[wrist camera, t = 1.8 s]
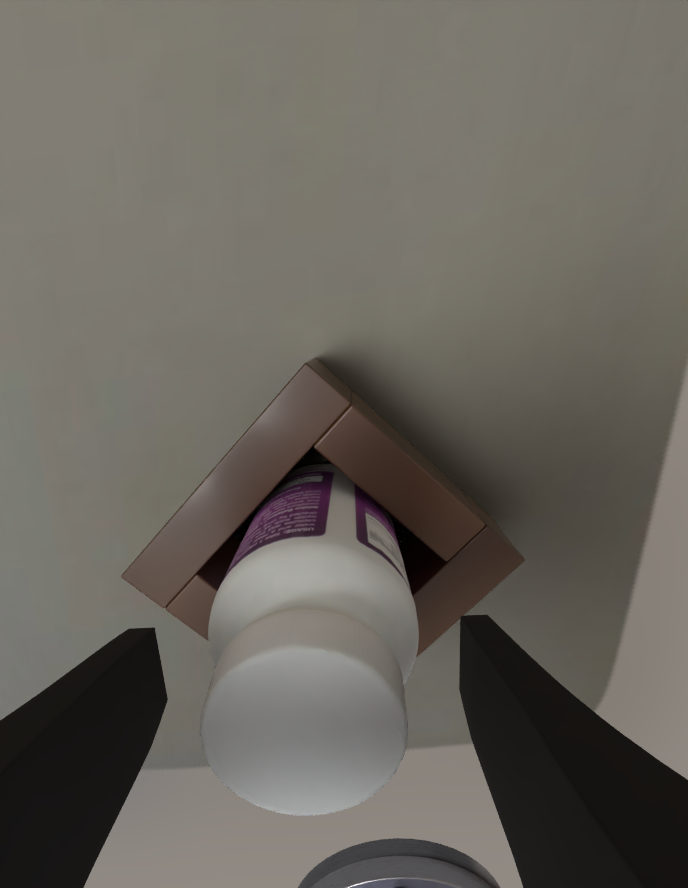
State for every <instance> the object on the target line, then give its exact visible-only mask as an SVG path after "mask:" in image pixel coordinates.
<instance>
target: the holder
mask: <svg viewBox="0 0 688 888" xmlns="http://www.w3.org/2000/svg"><path fill="white" fill-rule="evenodd" d="M313 445H314V448H315V449H316V450H317V451H318V452H319V453H320V454H321V455H323V456H324V457H325V458H326V459H327V460H328V461H330V462H331V463H332V464H333V465H334V466H335V467H337V468H338V469H339V470H340V471H341V472H342V473H343V474H345V475H346V476H347V477H348V478H349V479H350V480H352V481H353V482H354V483H355V484H356V485H357V486H359V487H360V488H361V489H362V490H363V491H364V492H365V493H367V494H368V495H369V496H370V497H371V498H372V499H374V500H375V501H376V502H377V503H378V504H379V505H381V506H382V507H383V508H384V509H385V510H386V511H388V512H389V513H390V514H391V515H392V516H393V517H394V518H396V519H397V520H398V521H399V522H400V523H401V524H403V525H404V526H405V527H406V528H407V529H408V530H410V531H411V532H412V533H413V535H412V536H411V537H410V538H409V539H408V540H407V541H406V542H405V543H404V544H403V545H402V546H401V547H400V552H401V556H402V559H403V562H404V567H405V571H406V575H407V579H408V582H409V586H410V590H411V594H412V596H413V599H414V603H415V606H416V613H417V620H418V628H419V640H418V650H417V655H416V657H418V656H419V655H420V654H421V653H422V652H423V651H424V650H425V649H427V648H428V647H429V646H430V645H431V644H432V643H433V642H434V641H435V640H437V639H438V638H439V637H440V636H441V635H442V634H443V633H444V632H445V631H447V630H448V629H449V628H450V627H451V626H452V625H453V624H454V623H456V622H457V621H458V620H459V619H460V618H461V616H463V615H464V614H466V613H467V612H468V611H469V610H470V609H471V608H472V607H473V606H475V605H476V604H477V603H478V602H479V601H480V600H481V599H482V598H483V597H485V596H486V595H487V594H488V593H489V592H490V591H491V590H492V589H493V588H495V587H496V586H497V585H498V584H499V583H500V582H501V581H502V580H504V579H505V578H506V577H507V576H508V575H509V574H510V573H511V572H512V571H514V570H515V569H516V568H517V567H518V566H519V565H520V564H521V563H522V562H524V560H525V559H524V558H523V556H522V555H521V554H520V553H519V551H518V550H517V549H516V548H515V546H514V545H513V544H512V543H511V541H510V540H509V539H508V538H507V536H506V535H505V534H504V533H503V531H502V530H501V529H500V528H499V526H498V525H497V524H496V523H495V521H494V520H493V519H492V517H491V516H490V515H489V514H487V513H486V512H485V511H484V510H483V509H482V508H481V507H480V506H479V505H478V504H476V503H475V502H474V501H473V500H472V499H471V498H470V497H469V496H468V495H466V494H465V493H464V492H463V491H462V490H461V489H459V487H458V486H456V485H455V484H454V483H453V482H452V481H451V480H450V479H449V478H448V477H447V476H445V475H444V474H443V473H442V472H441V471H440V470H439V469H438V468H437V467H435V466H434V465H433V464H432V463H431V462H430V461H429V460H428V459H427V458H426V457H424V456H423V455H422V454H421V453H420V452H419V451H418V450H417V449H416V448H415V447H413V446H412V445H411V444H410V443H409V442H408V441H407V440H406V439H405V438H403V437H402V436H401V435H400V434H399V433H398V432H397V431H396V430H395V429H394V428H392V427H391V426H390V425H389V424H388V423H387V422H386V421H385V420H384V419H383V418H381V417H380V416H379V415H378V414H377V413H376V412H375V411H374V410H373V409H372V408H370V407H369V406H368V405H367V404H366V403H365V402H364V401H363V400H362V399H360V398H359V397H358V396H357V395H356V394H355V393H354V392H352V391H351V390H350V388H348V387H347V386H346V385H345V384H344V383H343V382H342V381H341V380H340V379H339V378H337V377H336V376H335V375H334V374H333V373H332V372H331V371H330V370H329V369H327V368H326V367H325V366H324V365H323V364H322V363H321V362H320V361H319V360H318V359H316V358H314V359H312V360H310V361H308V362H307V363H305V364H304V365H303V366H302V367H301V368H300V370H299V371H298V372H297V373H296V374H295V375H294V377H293V378H292V379H291V380H290V381H289V382H288V384H287V385H286V386H285V387H284V388H283V389H282V390H281V392H280V393H279V394H278V395H277V396H276V397H275V399H274V400H273V401H272V402H271V403H270V404H269V405H268V407H267V408H266V409H265V410H264V411H263V412H262V414H261V415H260V416H259V417H258V418H257V419H256V421H255V422H254V423H253V424H252V425H251V426H250V427H249V429H248V430H247V431H246V432H245V433H244V434H243V436H242V437H241V438H240V439H239V440H238V441H237V442H236V444H235V445H234V446H233V447H232V448H231V449H230V451H229V452H228V453H227V454H226V455H225V456H224V457H223V459H222V460H221V461H220V462H219V463H218V464H217V466H216V467H215V468H214V469H213V470H212V471H211V473H210V474H209V475H208V476H207V477H206V478H205V479H204V481H203V482H202V483H201V484H200V485H199V486H198V488H197V489H196V490H195V491H194V492H193V493H192V494H191V496H190V497H189V498H188V499H187V500H186V501H185V503H184V504H183V505H182V506H181V507H180V508H179V510H178V511H177V512H176V513H175V514H174V515H173V516H172V518H171V519H170V520H169V521H168V522H167V523H166V525H165V526H164V527H163V528H162V529H161V530H160V531H159V533H158V534H157V535H156V536H155V537H154V538H153V540H152V541H151V542H150V543H149V544H148V545H147V547H146V548H145V549H144V550H143V551H142V552H141V553H140V555H139V556H138V557H137V558H136V559H135V560H134V562H133V563H132V564H131V565H130V566H129V567H128V568H127V570H126V571H125V572H124V573H123V574H122V576H121V577H122V578H123V579H124V580H126V581H127V582H128V583H130V584H131V585H132V586H134V587H135V588H136V589H138V590H139V591H141V592H142V593H143V594H145V595H146V596H147V597H149V598H150V599H151V600H153V601H154V602H155V603H157V604H158V605H160V606H161V607H162V608H165V607H166V610H167V611H168V612H170V613H171V614H172V615H174V616H175V617H176V618H178V619H179V620H180V621H182V622H183V623H185V624H186V625H187V626H189V627H190V628H191V629H193V630H194V631H195V632H197V633H198V634H200V635H201V636H202V637H204V638H205V639H206V640H208V626H209V618H210V613H211V609H212V605H213V602H214V599H215V596H216V594H217V591H218V589H219V587H220V585H221V583H222V581H223V579H224V577H225V575H226V573H227V571H228V569H229V566H230V564H231V562H232V561H233V558H234V556H235V554H236V552H237V550H238V548H239V546H240V544H241V541H240V540H239V539H237V538H236V537H235V536H234V535H232V534H233V533H234V532H235V531H236V530H237V529H238V528H239V526H240V525H241V524H242V523H243V522H244V521H245V520H246V519H247V518H248V517H249V515H250V514H251V513H252V512H253V511H254V510H255V509H256V508H257V507H258V506H259V505H260V503H261V502H262V501H263V500H264V499H265V498H266V497H267V496H268V495H269V494H270V492H271V491H272V490H273V489H274V488H275V487H276V486H277V485H278V484H279V483H280V482H281V480H282V479H283V478H284V477H285V476H286V475H287V474H288V473H289V472H290V471H291V469H292V468H293V467H294V466H295V465H296V464H297V463H298V462H299V461H300V460H301V459H302V457H303V456H304V455H305V454H306V453H307V452H308V451H309V450H310V449H311V448H312V446H313Z"/></svg>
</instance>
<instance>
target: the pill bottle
mask: <svg viewBox="0 0 688 888" xmlns="http://www.w3.org/2000/svg"><path fill="white" fill-rule="evenodd" d="M418 640H419V628H418V620H417V613H416V606H415V603H414V599H413V596H412V594H411V590H410V586H409V582H408V579H407V575H406V571H405V567H404V562H403V559H402V556H401V552H400V548H399V545H398V541H397V537H396V533H395V529H394V525H393V521H392V517H391V514H390V513H389V512H388V511H386V510H385V509H384V508H383V507H382V506H381V505H379V504H378V503H377V502H376V501H375V500H374V499H372V498H371V497H370V496H369V495H368V494H367V493H365V492H364V491H363V490H362V489H361V488H360V487H359V486H357V485H356V484H355V483H354V482H353V481H352V480H350V479H349V478H348V477H347V476H346V475H345V474H343V473H342V472H341V471H340V470H339V469H338V468H337V467H335V466H334V465H333V464H314V465H308V466H303V467H301V468H298V469H296V470H294V471H292V472H290V473H288V474H287V475H286V476H285V477H284V478H283V479H282V480H281V482H280V483H279V484H278V485H277V486H276V487H275V488H274V489H273V490H272V491H271V492H270V494H269V495H268V496H267V497H266V498H265V499H264V500H263V501H262V503H261V505H260V507H259V509H258V511H257V512H256V514H255V516H254V519H253V520H252V522H251V524H250V526H249V528H248V530H247V532H246V534H245V536H244V538H243V540H242V542H241V544H240V546H239V548H238V550H237V552H236V554H235V556H234V558H233V561H232V562H231V564H230V566H229V569H228V571H227V573H226V575H225V577H224V579H223V581H222V583H221V585H220V587H219V589H218V591H217V594H216V596H215V599H214V602H213V605H212V609H211V613H210V618H209V626H208V642H209V650H210V655H211V659H212V663H213V665H214V668H215V672H214V675H213V678H212V681H211V684H210V687H209V691H208V694H207V697H206V700H205V703H204V706H203V711H202V715H201V722H200V736H201V743H202V748H203V751H204V754H205V757H206V759H207V761H208V763H209V765H210V766H211V768H212V770H213V771H214V773H215V774H216V776H217V777H218V778H219V779H220V780H221V781H222V782H223V783H224V784H225V785H226V786H227V787H228V788H229V789H230V790H231V791H233V792H234V793H235V794H237V795H238V796H240V797H242V798H243V799H245V800H247V801H249V802H251V803H252V804H254V805H257V806H259V807H262V808H265V809H268V810H271V811H274V812H278V813H283V814H288V815H301V816H311V815H322V814H329V813H333V812H338V811H341V810H344V809H347V808H350V807H352V806H355V805H357V804H359V803H362V802H363V801H365V800H366V799H368V798H370V797H371V796H373V795H374V794H375V793H377V792H378V791H379V790H380V789H381V788H382V787H383V786H384V785H385V784H386V783H387V782H388V781H389V780H390V779H391V778H392V776H393V775H394V774H395V772H396V771H397V769H398V766H399V764H400V762H401V760H402V759H403V757H404V754H405V750H406V745H407V736H408V723H407V714H406V706H405V698H404V685H405V683H406V682H407V680H408V678H409V676H410V673H411V671H412V669H413V666H414V663H415V659H416V655H417V650H418Z"/></svg>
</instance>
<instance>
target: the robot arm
mask: <svg viewBox="0 0 688 888" xmlns="http://www.w3.org/2000/svg"><path fill="white" fill-rule="evenodd" d="M459 690H460V694H461V698H462V702H463V707H464V711H465V715H466V719H467V723H468V727H469V731H470V735H471V738H472V741H473V744H474V747H475V750H476V753H477V756H478V758H479V761H480V764H481V767H482V770H483V773H484V775H485V778H486V781H487V784H488V786H489V789H490V792H491V795H492V798H493V801H494V803H495V806H496V809H497V812H498V815H499V818H500V820H501V823H502V826H503V828H504V832H505V834H506V837H507V840H508V842H509V846H510V848H511V851H512V854H513V857H514V859H515V863H516V866H517V869H518V872H519V875H520V878H521V881H522V884H523V888H688V780H687V779H686V778H684V777H683V776H681V775H680V774H678V773H677V772H675V771H674V770H672V769H671V768H669V767H668V766H666V765H665V764H663V763H662V762H660V761H659V760H657V759H656V758H655V757H653V756H652V755H651V754H649V753H648V752H646V751H645V750H644V749H642V748H641V747H639V746H638V745H637V744H635V743H634V742H632V741H631V740H630V739H628V738H627V737H626V736H624V735H623V734H622V733H620V732H619V731H618V730H616V729H615V728H614V727H612V726H611V725H610V724H608V723H607V722H606V721H605V720H603V719H602V718H601V717H599V716H598V715H597V714H596V713H595V712H593V711H592V710H591V709H590V708H589V707H587V706H586V705H585V704H584V703H582V702H581V701H580V700H579V699H577V698H576V697H575V696H574V695H573V694H571V693H570V692H569V691H568V690H567V689H566V688H564V687H563V686H562V685H561V684H560V683H559V682H558V681H557V680H555V679H554V678H553V677H552V676H551V675H550V674H549V673H548V672H547V671H545V670H544V669H543V668H542V667H541V666H540V665H539V664H538V663H537V662H536V661H535V660H534V659H532V658H531V657H530V656H529V655H528V654H527V653H526V652H525V651H524V650H523V649H522V648H521V647H520V646H519V645H518V644H517V643H516V642H515V641H514V640H513V639H512V638H511V637H510V636H508V635H507V634H506V633H505V632H504V631H503V630H502V629H501V628H500V627H499V626H498V625H497V624H496V623H495V622H494V621H493V620H492V619H491V618H490V617H489V616H488V615H469V616H461V622H460V687H459ZM167 700H168V699H167V693H166V688H165V682H164V677H163V671H162V666H161V660H160V655H159V650H158V644H157V639H156V633H155V628H135V629H128V630H126V631H125V632H123V633H122V634H120V635H119V636H117V637H116V638H115V639H113V640H112V641H110V642H109V643H108V644H106V645H105V646H103V647H102V648H101V649H99V650H98V651H97V652H95V653H94V654H93V655H91V656H90V657H88V658H87V659H86V660H84V661H83V662H82V663H80V664H79V665H78V666H76V667H75V668H74V669H72V670H71V671H70V672H68V673H67V674H65V675H64V676H63V677H61V678H60V679H59V680H57V681H56V682H55V683H53V684H52V685H50V686H49V687H48V688H46V689H45V690H44V691H42V692H41V693H40V694H38V695H37V696H35V697H34V698H32V699H31V700H29V701H28V702H27V703H25V704H24V705H22V706H21V707H19V708H18V709H16V710H15V711H14V712H12V713H11V714H9V715H8V716H6V717H5V718H3V719H2V720H1V721H0V888H84V885H85V883H86V881H87V879H88V876H89V874H90V872H91V870H92V868H93V866H94V864H95V861H96V859H97V857H98V855H99V853H100V851H101V849H102V847H103V845H104V843H105V841H106V839H107V837H108V835H109V833H110V831H111V829H112V827H113V825H114V823H115V821H116V819H117V816H118V815H119V812H120V810H121V808H122V806H123V804H124V802H125V800H126V798H127V796H128V794H129V792H130V790H131V788H132V786H133V784H134V782H135V780H136V777H137V775H138V773H139V771H140V769H141V767H142V765H143V763H144V761H145V759H146V757H147V754H148V752H149V750H150V748H151V746H152V743H153V740H154V737H155V735H156V732H157V729H158V727H159V724H160V721H161V718H162V715H163V712H164V709H165V706H166V703H167Z"/></svg>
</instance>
